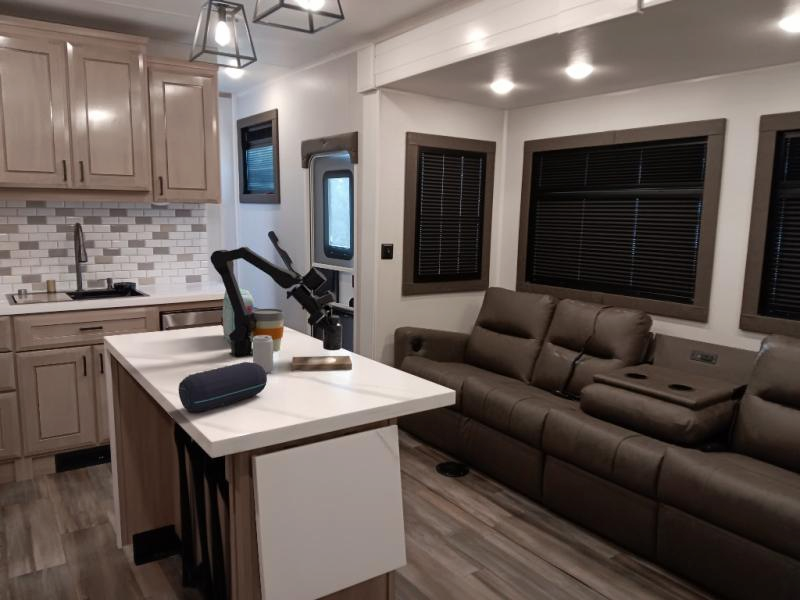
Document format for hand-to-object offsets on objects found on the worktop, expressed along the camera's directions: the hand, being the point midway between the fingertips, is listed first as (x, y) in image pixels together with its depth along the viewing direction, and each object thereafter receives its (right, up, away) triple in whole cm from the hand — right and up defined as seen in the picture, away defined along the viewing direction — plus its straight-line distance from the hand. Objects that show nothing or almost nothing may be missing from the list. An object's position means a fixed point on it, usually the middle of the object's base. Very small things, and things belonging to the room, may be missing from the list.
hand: (336, 330), depth 211 cm
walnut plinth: (-4, -12, -9) cm, 15 cm away
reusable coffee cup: (-28, -8, +12) cm, 31 cm away
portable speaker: (-26, -17, -51) cm, 59 cm away
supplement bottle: (-2, -7, +1) cm, 7 cm away
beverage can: (-22, -13, -19) cm, 32 cm away
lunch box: (-44, -5, +29) cm, 53 cm away
